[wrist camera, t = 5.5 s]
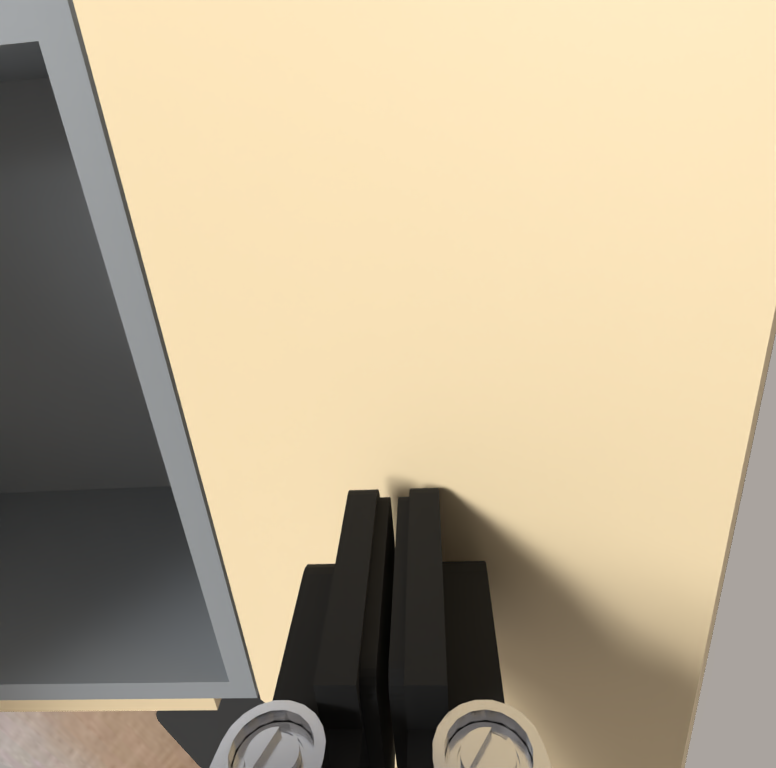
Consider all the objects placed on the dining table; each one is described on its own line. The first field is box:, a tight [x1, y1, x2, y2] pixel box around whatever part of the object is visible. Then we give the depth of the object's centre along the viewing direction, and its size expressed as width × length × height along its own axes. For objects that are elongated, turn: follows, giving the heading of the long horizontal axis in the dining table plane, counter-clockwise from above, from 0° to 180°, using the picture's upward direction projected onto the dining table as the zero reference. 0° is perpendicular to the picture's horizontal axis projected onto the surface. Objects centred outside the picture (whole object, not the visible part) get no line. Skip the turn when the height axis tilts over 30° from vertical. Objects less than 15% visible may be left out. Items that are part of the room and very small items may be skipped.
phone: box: [156, 694, 265, 768], centre depth 39 cm, size 7×1×15 cm
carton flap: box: [73, 0, 776, 768], centre depth 12 cm, size 20×12×1 cm
